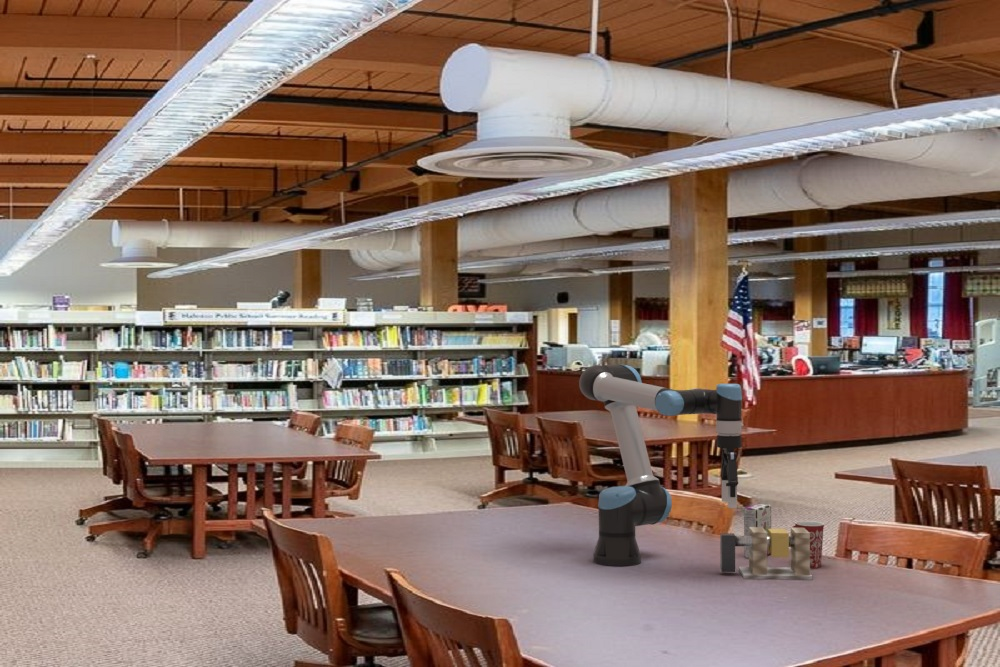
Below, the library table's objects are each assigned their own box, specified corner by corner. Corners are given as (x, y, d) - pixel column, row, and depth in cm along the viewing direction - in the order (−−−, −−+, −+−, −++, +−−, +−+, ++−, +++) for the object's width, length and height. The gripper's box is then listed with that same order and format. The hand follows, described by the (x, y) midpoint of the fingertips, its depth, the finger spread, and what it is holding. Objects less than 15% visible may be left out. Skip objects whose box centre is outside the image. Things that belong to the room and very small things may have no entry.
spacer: (771, 557, 354) (771, 533, 354) (767, 552, 362) (767, 528, 362) (788, 557, 354) (788, 533, 354) (784, 552, 362) (784, 529, 362)
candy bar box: (758, 552, 394) (758, 503, 394) (772, 554, 391) (772, 504, 391) (743, 558, 385) (743, 507, 385) (757, 559, 382) (757, 508, 382)
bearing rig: (743, 578, 353) (743, 533, 353) (738, 570, 365) (738, 526, 366) (812, 579, 351) (812, 533, 351) (804, 570, 364) (804, 526, 364)
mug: (830, 567, 369) (830, 524, 369) (806, 569, 366) (806, 526, 366) (805, 560, 381) (805, 518, 381) (781, 562, 377) (781, 520, 377)
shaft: (721, 572, 357) (721, 535, 358) (720, 569, 361) (720, 533, 361) (802, 573, 356) (802, 536, 356) (800, 570, 360) (800, 534, 360)
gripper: (747, 438, 348) (747, 510, 348) (735, 431, 373) (735, 499, 373) (721, 438, 348) (722, 510, 348) (711, 431, 373) (711, 498, 373)
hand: (729, 504), depth 360 cm, fingers open, 13 cm apart
